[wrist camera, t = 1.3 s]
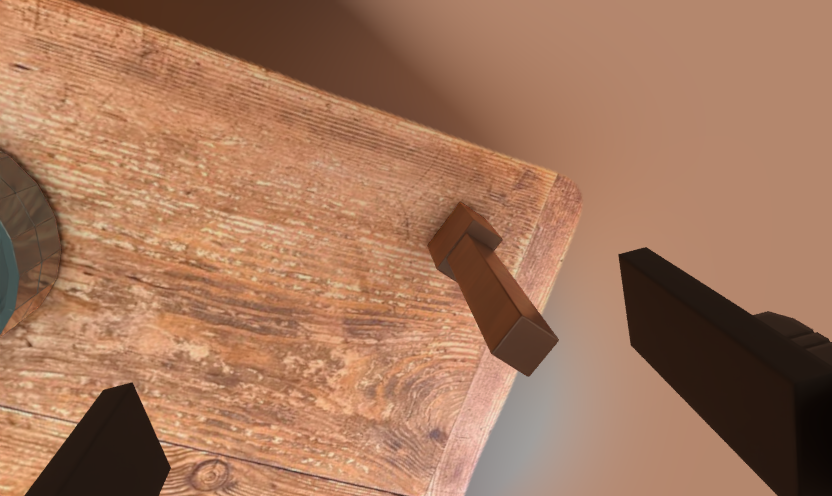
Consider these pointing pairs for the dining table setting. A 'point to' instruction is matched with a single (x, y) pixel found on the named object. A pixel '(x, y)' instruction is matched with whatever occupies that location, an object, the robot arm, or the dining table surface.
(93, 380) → the dining table surface
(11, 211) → the bowl
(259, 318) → the dining table surface
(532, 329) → the stirring stick
